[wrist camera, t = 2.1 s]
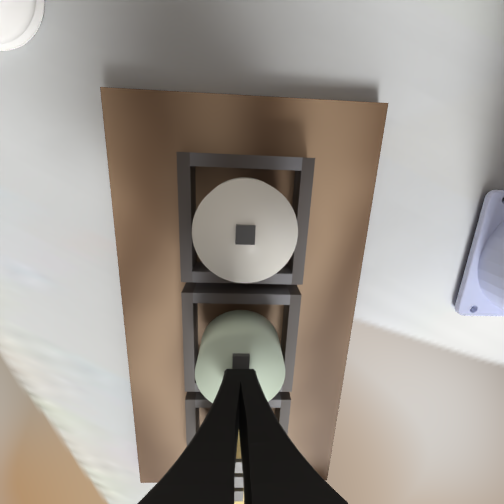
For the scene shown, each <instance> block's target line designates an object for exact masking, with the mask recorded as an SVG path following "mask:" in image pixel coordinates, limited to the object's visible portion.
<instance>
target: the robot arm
mask: <svg viewBox="0 0 504 504" xmlns="http://www.w3.org/2000/svg"><path fill="white" fill-rule="evenodd" d="M503 197H504V190H492V191H490V192H488V193H487V194H486V196H485V199H484V202H483V206H482V210H481V213H480V217H479V220H478V224H477V228H476V231H475V235H474V239H473V242H472V246H471V249H470V253H469V257H468V260H467V264H466V267H465V271H464V275H463V278H462V282H461V286H460V289H459V293H458V296H457V300H456V304H455V311H456V312H457V313H459V314H460V315H464V316H504V201H503V202H502V198H503ZM472 306H473V307H472ZM471 307H472V308H471ZM470 308H471V309H470ZM238 432H239V436H240V448H241V460H242V472H243V485H244V504H348V503H347V501H345V500H344V499H343V498H342V497H341V496H340V495H339V494H338V493H337V492H336V491H335V490H334V489H333V488H332V487H331V486H330V485H329V484H328V483H327V482H326V481H325V480H324V479H323V478H322V477H321V476H320V475H319V474H318V473H317V472H316V471H315V469H314V468H313V467H312V466H311V465H310V463H309V462H308V461H307V460H306V459H305V458H304V456H303V455H302V454H301V453H300V452H299V450H298V449H297V448H296V446H295V445H294V444H293V442H292V441H291V439H290V438H289V437H288V435H287V434H286V432H285V431H284V429H283V428H282V426H281V424H280V423H279V421H278V419H277V418H276V416H275V414H274V413H273V411H272V409H271V407H270V405H269V403H268V401H267V399H266V397H265V395H264V393H263V391H262V388H261V386H260V383H259V381H258V378H257V374H256V371H255V370H254V369H226V370H225V371H224V376H223V379H222V383H221V385H220V388H219V390H218V393H217V395H216V397H215V399H214V402H213V404H212V406H211V408H210V410H209V411H208V413H207V415H206V417H205V419H204V421H203V422H202V424H201V426H200V427H199V429H198V431H197V432H196V434H195V435H194V437H193V438H192V440H191V441H190V443H189V444H188V446H187V447H186V448H185V450H184V451H183V453H182V454H181V455H180V457H179V458H178V459H177V460H176V462H175V463H174V464H173V465H172V467H171V468H170V469H169V470H168V471H167V473H166V474H165V475H164V476H163V477H162V478H161V480H160V481H159V482H158V483H157V484H156V485H155V486H154V487H153V488H152V489H151V490H150V491H149V492H148V493H147V495H146V496H145V497H144V498H143V499H142V500H141V501H140V502H139V503H138V504H234V476H235V464H236V453H237V443H238Z"/></svg>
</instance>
